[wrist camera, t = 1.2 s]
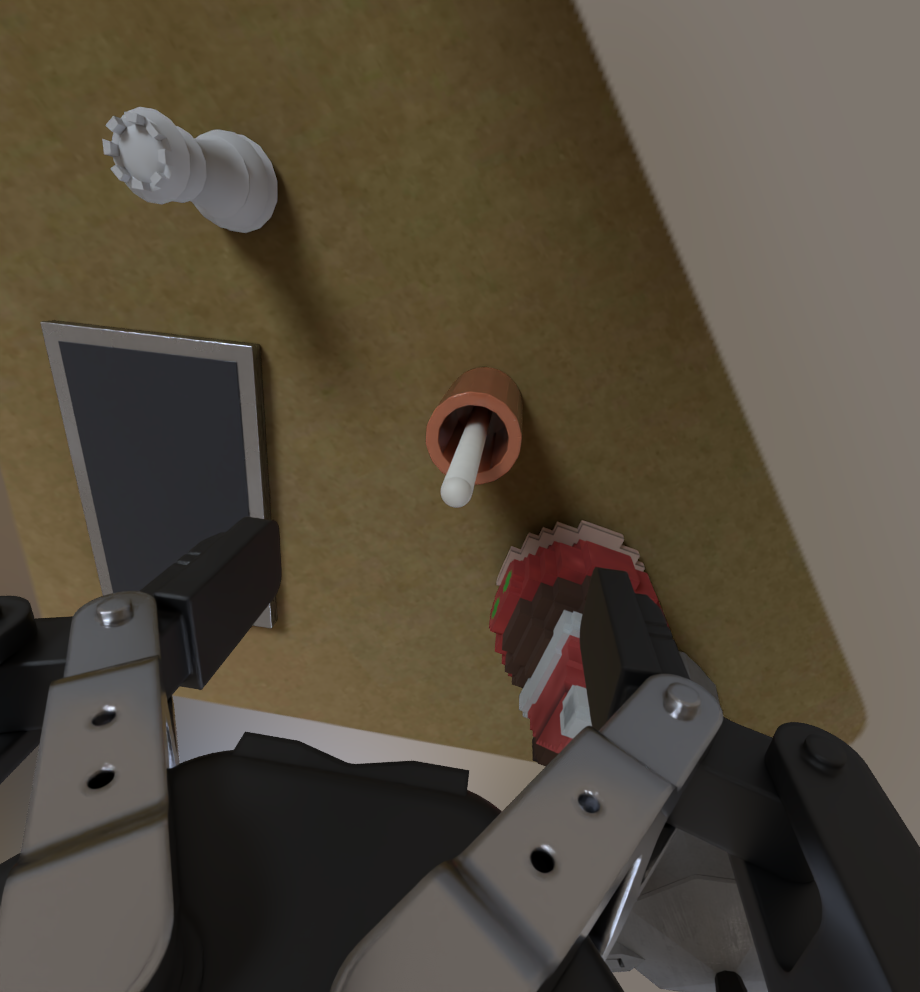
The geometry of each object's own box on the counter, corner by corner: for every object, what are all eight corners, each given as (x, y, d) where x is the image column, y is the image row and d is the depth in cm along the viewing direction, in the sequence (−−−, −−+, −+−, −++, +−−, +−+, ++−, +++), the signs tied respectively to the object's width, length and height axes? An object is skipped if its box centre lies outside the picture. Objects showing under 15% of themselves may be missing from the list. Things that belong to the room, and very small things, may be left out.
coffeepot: (730, 621, 33) (927, 953, 17) (755, 725, 37) (942, 1090, 20) (508, 670, 37) (495, 981, 21) (548, 760, 40) (563, 1092, 24)
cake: (601, 662, 36) (664, 985, 20) (477, 618, 36) (436, 908, 19) (675, 538, 32) (836, 821, 15) (534, 487, 31) (543, 719, 15)
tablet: (54, 320, 31) (38, 321, 30) (260, 344, 30) (251, 346, 29) (113, 594, 39) (103, 603, 38) (277, 620, 38) (271, 629, 37)
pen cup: (450, 362, 29) (429, 387, 23) (527, 371, 29) (528, 398, 22) (444, 436, 31) (422, 478, 24) (516, 445, 30) (514, 490, 24)
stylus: (475, 397, 29) (439, 480, 17) (494, 399, 29) (472, 485, 17) (473, 415, 29) (437, 510, 18) (492, 418, 29) (468, 514, 17)
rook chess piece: (273, 246, 28) (182, 235, 20) (195, 215, 28) (76, 193, 20) (290, 154, 26) (197, 106, 19) (206, 120, 26) (79, 58, 18)
